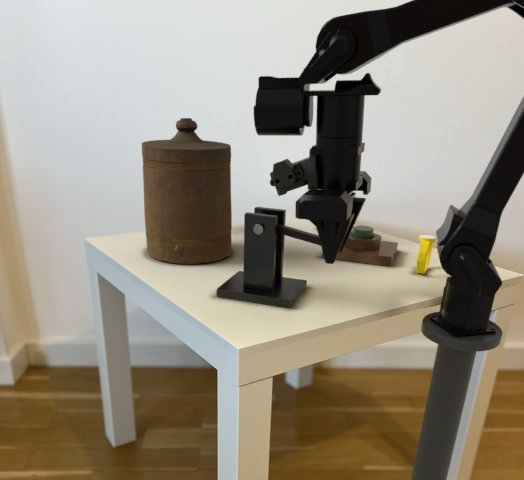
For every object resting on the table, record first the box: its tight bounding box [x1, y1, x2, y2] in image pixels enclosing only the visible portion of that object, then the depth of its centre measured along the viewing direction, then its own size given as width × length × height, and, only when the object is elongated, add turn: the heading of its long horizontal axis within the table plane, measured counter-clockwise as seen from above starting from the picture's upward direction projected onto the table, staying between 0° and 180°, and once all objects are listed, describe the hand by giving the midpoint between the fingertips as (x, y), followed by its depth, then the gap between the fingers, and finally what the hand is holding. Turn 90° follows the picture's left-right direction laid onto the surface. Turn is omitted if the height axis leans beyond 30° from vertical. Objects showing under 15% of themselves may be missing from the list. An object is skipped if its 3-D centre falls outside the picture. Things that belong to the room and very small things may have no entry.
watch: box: [415, 234, 437, 275], centre depth 90 cm, size 6×3×6 cm, turn 156°
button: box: [352, 225, 374, 239], centre depth 98 cm, size 4×4×2 cm
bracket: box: [216, 206, 308, 309], centre depth 78 cm, size 11×9×12 cm
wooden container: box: [141, 117, 233, 265], centre depth 92 cm, size 15×15×22 cm
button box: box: [321, 230, 399, 267], centre depth 99 cm, size 12×10×4 cm
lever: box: [258, 212, 322, 247], centre depth 75 cm, size 12×5×2 cm, turn 71°
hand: (334, 257), depth 75 cm, fingers closed on lever, 5 cm apart
